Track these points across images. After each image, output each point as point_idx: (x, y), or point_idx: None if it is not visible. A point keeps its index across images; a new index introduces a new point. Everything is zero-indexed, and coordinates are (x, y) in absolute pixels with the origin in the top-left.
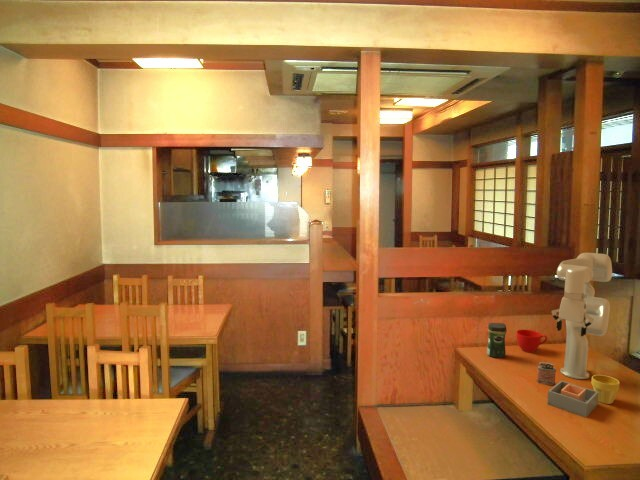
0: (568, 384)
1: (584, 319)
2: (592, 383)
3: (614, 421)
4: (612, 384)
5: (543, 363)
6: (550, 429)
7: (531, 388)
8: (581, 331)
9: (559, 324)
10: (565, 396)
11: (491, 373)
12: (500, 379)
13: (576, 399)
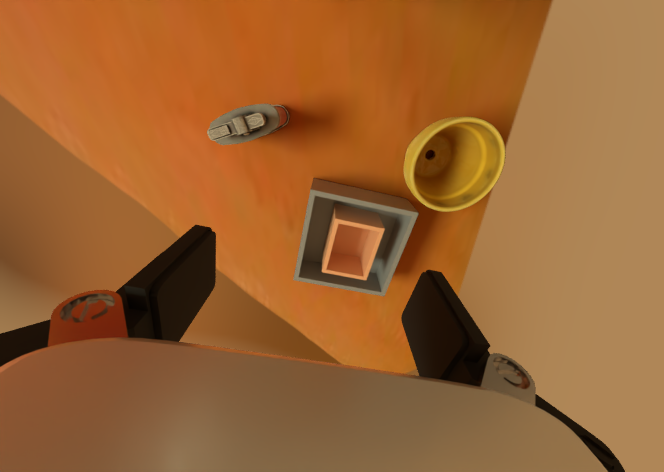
0: (335, 223)
1: (561, 423)
2: (407, 183)
3: (433, 259)
4: (471, 204)
5: (224, 135)
6: (322, 341)
7: (240, 194)
8: (416, 354)
9: (177, 340)
10: (335, 287)
11: (100, 153)
12: (147, 184)
13: (360, 288)
